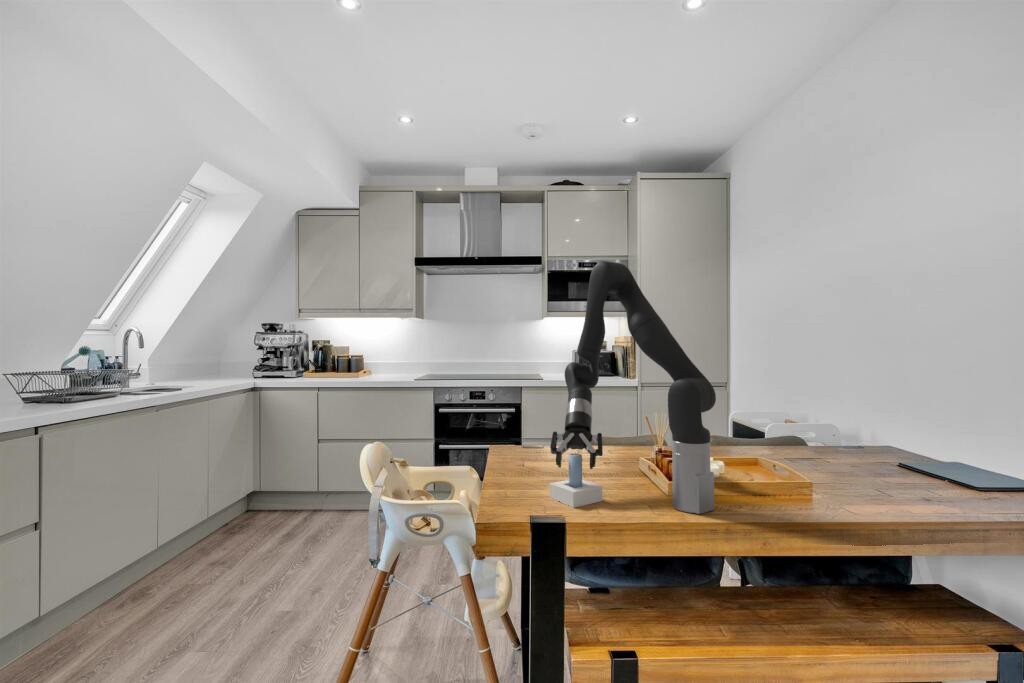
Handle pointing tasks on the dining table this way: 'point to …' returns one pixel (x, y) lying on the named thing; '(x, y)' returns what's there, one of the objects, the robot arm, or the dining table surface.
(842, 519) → the dining table surface
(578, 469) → the peg
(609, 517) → the dining table surface
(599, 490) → the socket
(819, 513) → the dining table surface
